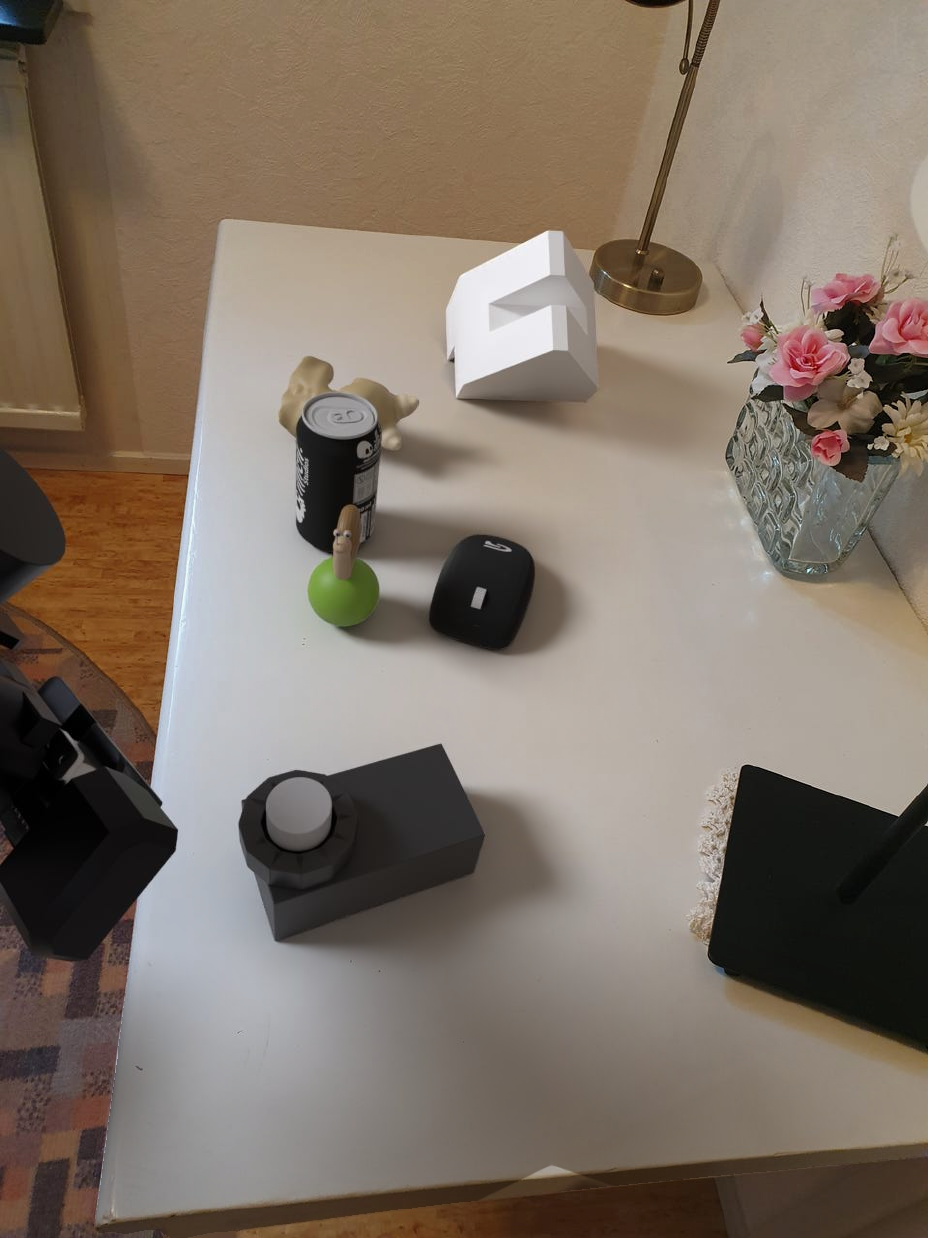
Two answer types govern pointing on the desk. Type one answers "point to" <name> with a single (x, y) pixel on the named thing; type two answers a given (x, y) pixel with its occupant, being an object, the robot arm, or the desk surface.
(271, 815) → the gray round disc
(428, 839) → the push button base
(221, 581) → the desk surface
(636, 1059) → the desk surface
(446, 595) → the computer mouse
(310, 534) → the beverage can
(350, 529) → the snail figurine
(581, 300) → the slotted wedge
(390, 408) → the dinosaur figurine
